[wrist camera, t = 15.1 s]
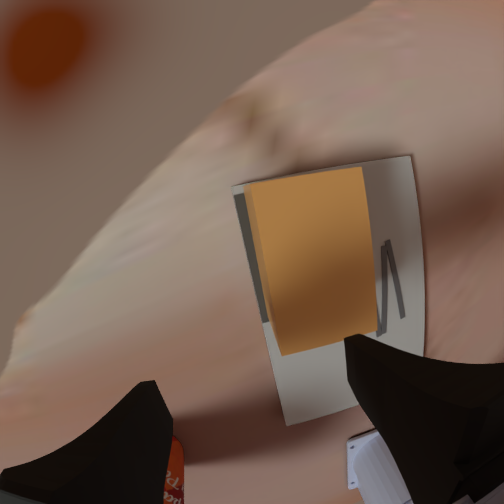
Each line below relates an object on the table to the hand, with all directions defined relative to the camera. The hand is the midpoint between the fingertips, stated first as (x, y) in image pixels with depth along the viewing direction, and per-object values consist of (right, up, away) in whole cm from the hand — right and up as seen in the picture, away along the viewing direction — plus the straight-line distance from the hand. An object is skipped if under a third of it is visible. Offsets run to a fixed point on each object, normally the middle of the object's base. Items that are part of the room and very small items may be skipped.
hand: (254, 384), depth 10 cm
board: (+6, +1, +10) cm, 12 cm away
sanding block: (+3, +5, +8) cm, 10 cm away
